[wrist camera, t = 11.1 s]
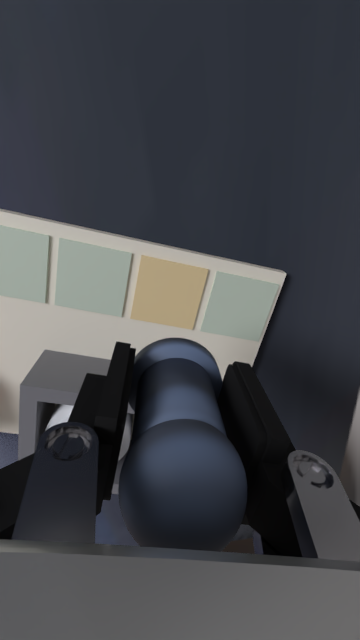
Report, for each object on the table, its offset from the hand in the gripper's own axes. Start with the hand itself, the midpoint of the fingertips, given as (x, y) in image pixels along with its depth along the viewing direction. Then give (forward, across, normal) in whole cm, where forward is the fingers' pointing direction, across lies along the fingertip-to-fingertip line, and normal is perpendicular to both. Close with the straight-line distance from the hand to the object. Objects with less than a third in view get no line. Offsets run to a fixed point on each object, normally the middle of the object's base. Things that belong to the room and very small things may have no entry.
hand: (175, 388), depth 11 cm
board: (+11, +5, +5) cm, 13 cm away
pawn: (+1, 0, 0) cm, 1 cm away
